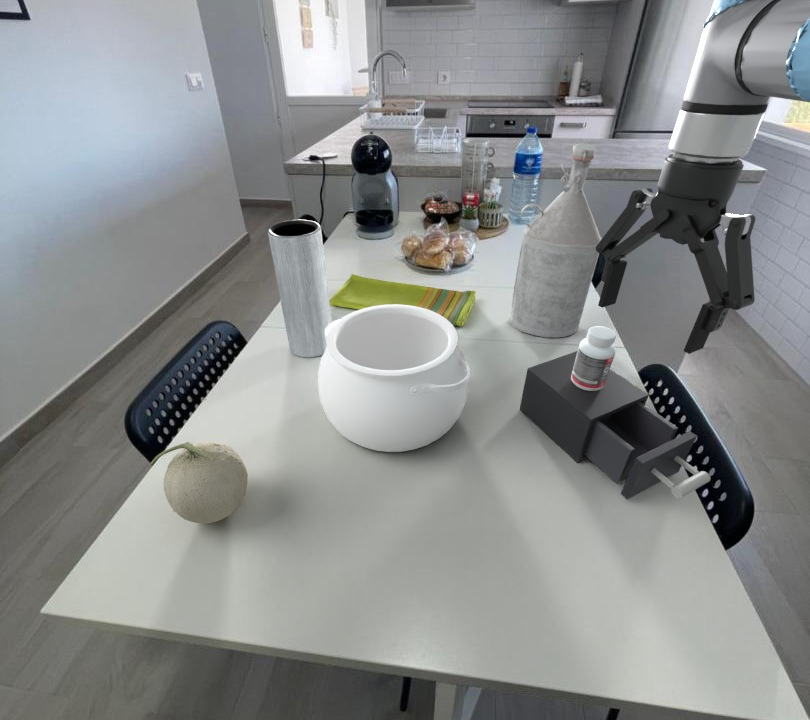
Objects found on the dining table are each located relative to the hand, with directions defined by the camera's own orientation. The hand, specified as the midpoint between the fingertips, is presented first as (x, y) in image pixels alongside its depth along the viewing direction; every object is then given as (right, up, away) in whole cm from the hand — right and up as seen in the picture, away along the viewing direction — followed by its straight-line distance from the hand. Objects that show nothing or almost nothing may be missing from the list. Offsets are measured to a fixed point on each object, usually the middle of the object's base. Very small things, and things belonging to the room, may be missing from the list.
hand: (646, 325), depth 61 cm
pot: (-35, -14, +23) cm, 44 cm away
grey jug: (0, +4, +47) cm, 47 cm away
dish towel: (-33, +10, +56) cm, 66 cm away
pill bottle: (-2, -8, +14) cm, 16 cm away
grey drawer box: (-3, -16, +19) cm, 25 cm away
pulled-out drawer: (+3, -21, +10) cm, 24 cm away
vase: (-54, -2, +40) cm, 67 cm away
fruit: (-61, -27, +6) cm, 67 cm away
